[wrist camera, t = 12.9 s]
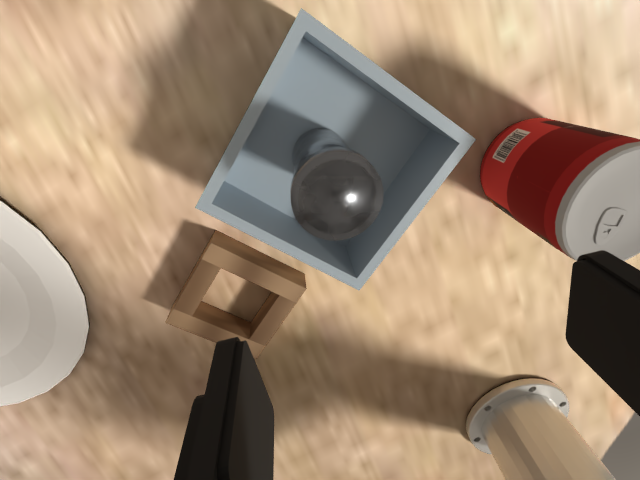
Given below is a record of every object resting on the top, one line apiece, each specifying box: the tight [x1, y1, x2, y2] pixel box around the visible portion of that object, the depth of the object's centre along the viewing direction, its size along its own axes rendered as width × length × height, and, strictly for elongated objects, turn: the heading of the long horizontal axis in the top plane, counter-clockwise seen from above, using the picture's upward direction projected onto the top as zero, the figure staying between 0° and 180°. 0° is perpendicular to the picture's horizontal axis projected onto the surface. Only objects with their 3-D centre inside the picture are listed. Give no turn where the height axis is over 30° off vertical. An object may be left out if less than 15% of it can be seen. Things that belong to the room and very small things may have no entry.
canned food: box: [480, 118, 640, 261], centre depth 28 cm, size 8×8×11 cm
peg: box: [290, 128, 384, 241], centre depth 25 cm, size 5×5×10 cm
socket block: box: [165, 230, 306, 359], centre depth 34 cm, size 9×9×2 cm
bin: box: [195, 8, 476, 290], centre depth 28 cm, size 14×14×6 cm
